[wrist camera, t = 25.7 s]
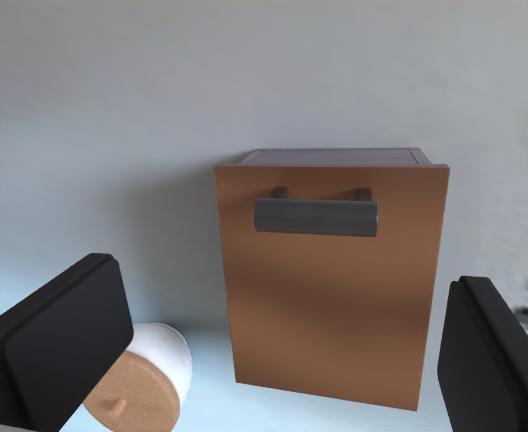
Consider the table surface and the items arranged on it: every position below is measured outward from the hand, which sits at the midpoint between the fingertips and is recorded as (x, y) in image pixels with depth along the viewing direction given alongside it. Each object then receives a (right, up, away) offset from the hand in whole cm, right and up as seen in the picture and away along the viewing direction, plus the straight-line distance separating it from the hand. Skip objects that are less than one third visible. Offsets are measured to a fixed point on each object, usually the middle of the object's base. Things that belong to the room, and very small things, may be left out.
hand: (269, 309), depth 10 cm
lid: (+4, -2, +13) cm, 14 cm away
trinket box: (-11, -12, +31) cm, 35 cm away
